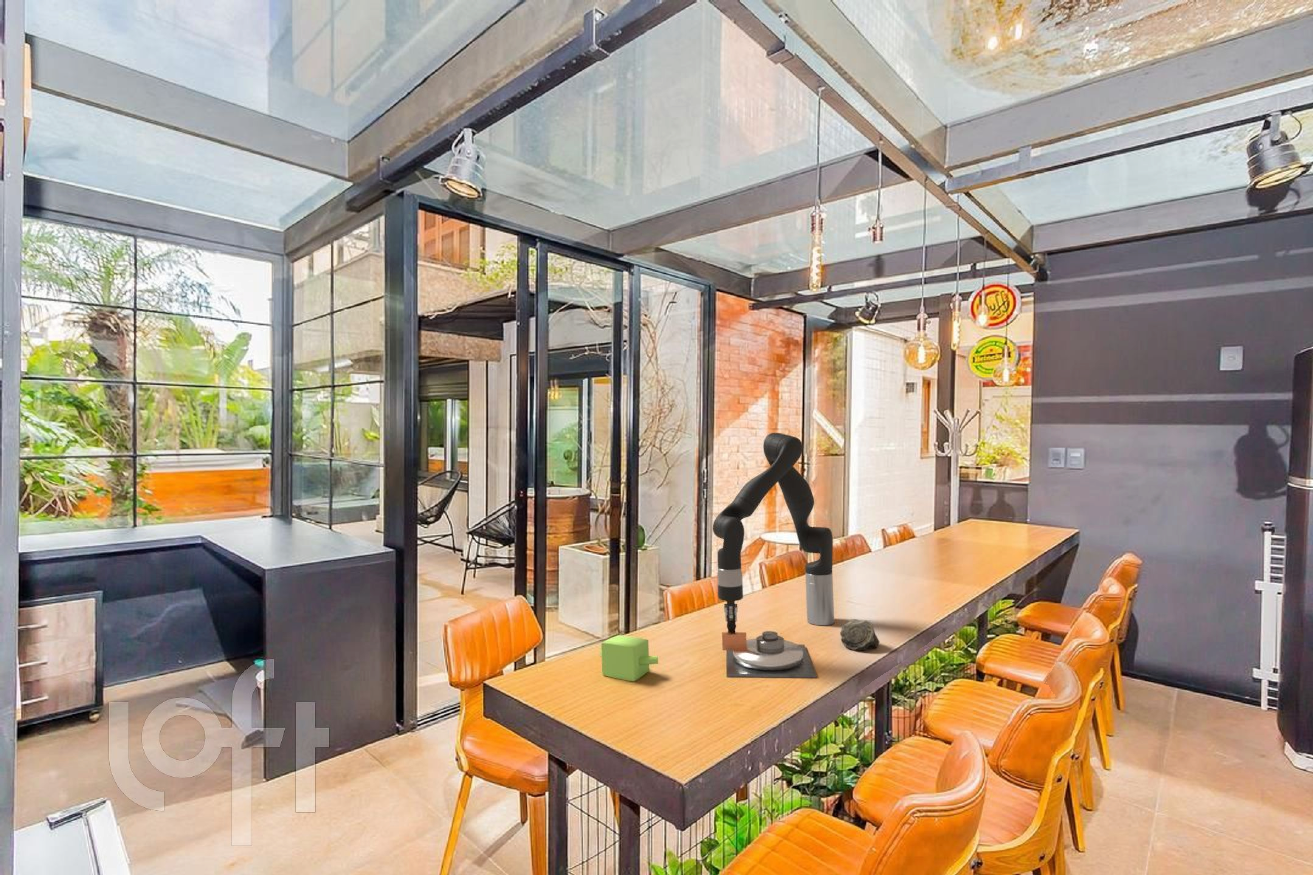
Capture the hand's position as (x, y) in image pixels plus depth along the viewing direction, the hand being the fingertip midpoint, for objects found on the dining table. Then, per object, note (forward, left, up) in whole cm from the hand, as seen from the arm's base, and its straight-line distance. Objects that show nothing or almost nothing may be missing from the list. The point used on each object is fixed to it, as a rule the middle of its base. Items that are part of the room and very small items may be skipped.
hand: (731, 640), depth 176 cm
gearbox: (+14, -29, -5) cm, 32 cm away
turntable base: (+4, +10, -5) cm, 12 cm away
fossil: (-9, +39, -5) cm, 40 cm away
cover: (+4, +11, -1) cm, 12 cm away
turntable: (+4, +9, -3) cm, 10 cm away
